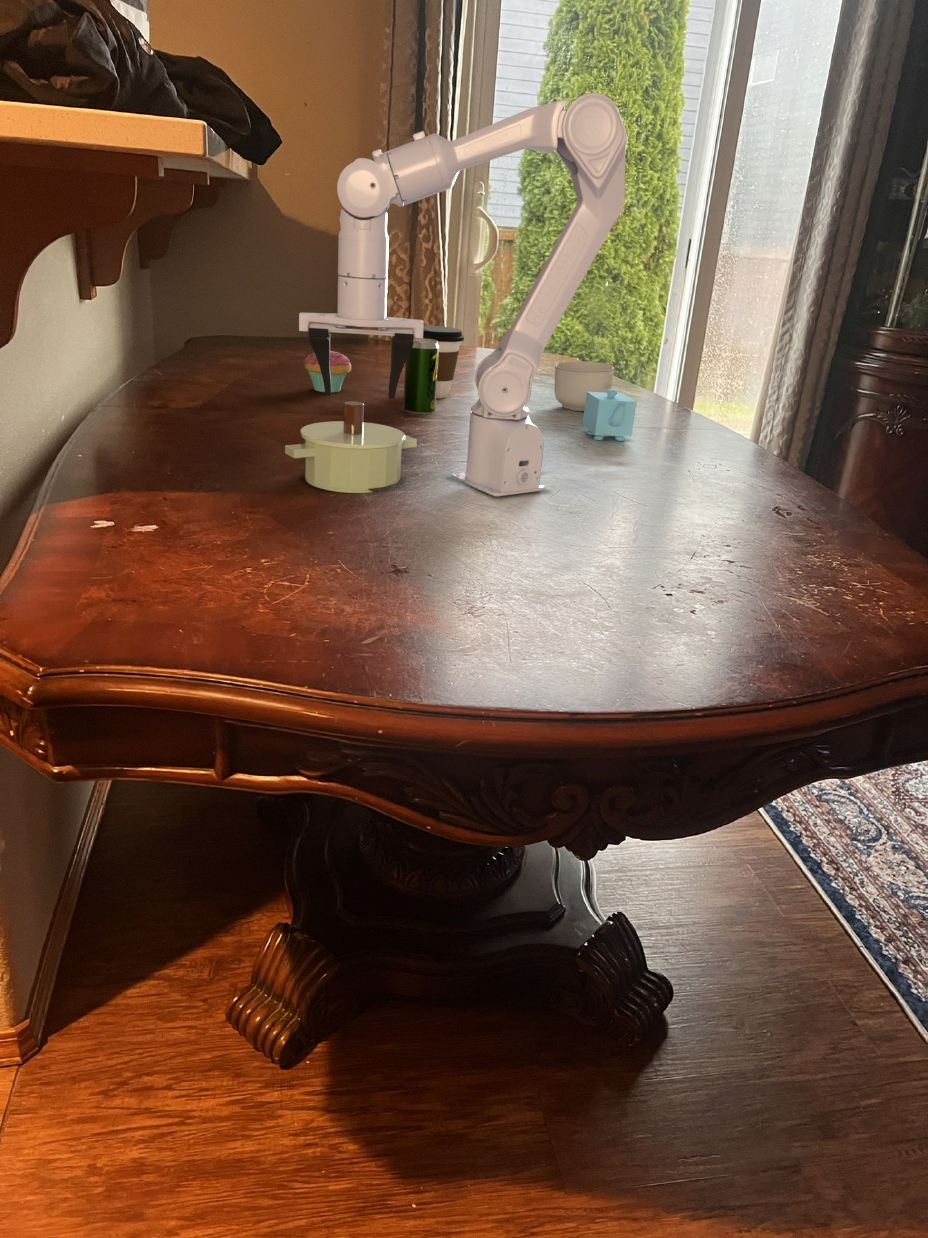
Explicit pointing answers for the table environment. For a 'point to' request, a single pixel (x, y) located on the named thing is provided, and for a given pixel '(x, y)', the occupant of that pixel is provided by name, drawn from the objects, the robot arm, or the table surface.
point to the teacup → (580, 382)
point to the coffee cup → (445, 355)
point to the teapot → (609, 414)
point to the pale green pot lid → (352, 431)
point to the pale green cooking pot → (350, 465)
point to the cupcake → (337, 369)
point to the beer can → (421, 377)
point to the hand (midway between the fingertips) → (360, 395)
